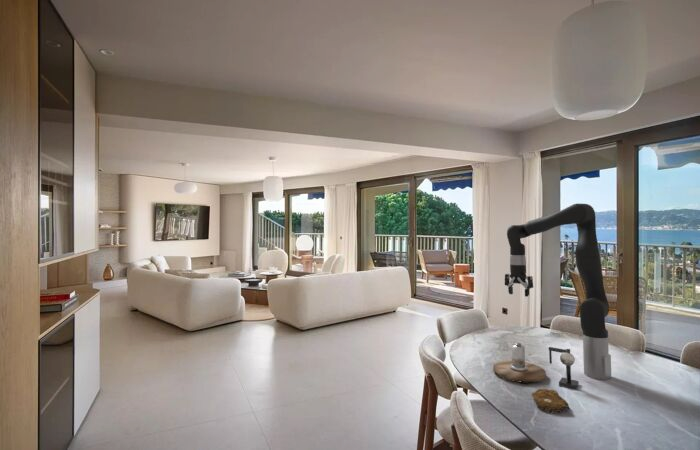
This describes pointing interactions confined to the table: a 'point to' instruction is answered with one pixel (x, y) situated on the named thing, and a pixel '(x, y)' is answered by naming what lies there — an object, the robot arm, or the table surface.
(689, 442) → the table surface
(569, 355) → the stand
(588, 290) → the robot arm
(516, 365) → the cover
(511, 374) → the disc
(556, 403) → the decorative rock
